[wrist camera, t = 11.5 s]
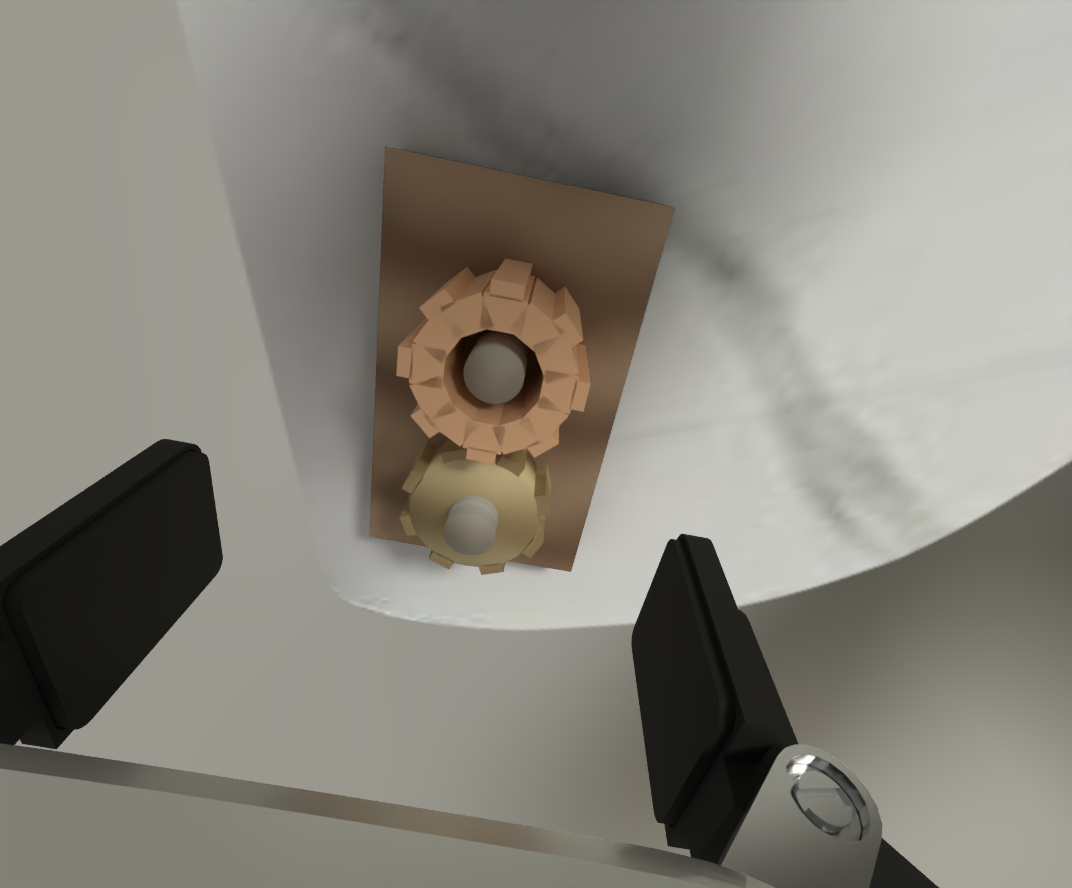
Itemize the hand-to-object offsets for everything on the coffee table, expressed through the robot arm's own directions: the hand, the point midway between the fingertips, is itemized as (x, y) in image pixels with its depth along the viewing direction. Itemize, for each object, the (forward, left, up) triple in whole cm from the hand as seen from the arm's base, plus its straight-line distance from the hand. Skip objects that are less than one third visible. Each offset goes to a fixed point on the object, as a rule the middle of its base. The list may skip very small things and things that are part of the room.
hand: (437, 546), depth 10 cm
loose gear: (0, 0, -15) cm, 15 cm away
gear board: (+3, 0, -17) cm, 18 cm away
